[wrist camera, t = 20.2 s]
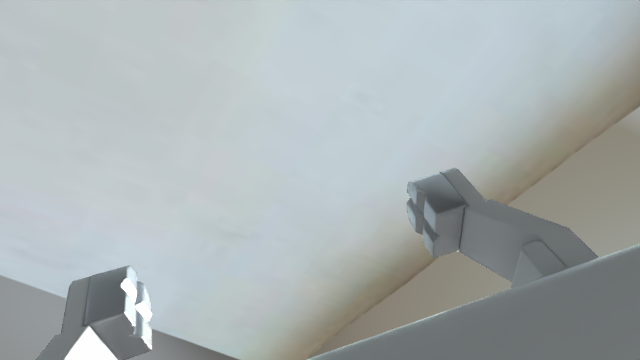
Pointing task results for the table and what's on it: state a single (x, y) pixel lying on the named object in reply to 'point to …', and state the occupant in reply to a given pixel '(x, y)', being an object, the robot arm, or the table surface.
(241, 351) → the table surface
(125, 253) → the table surface
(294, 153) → the table surface
